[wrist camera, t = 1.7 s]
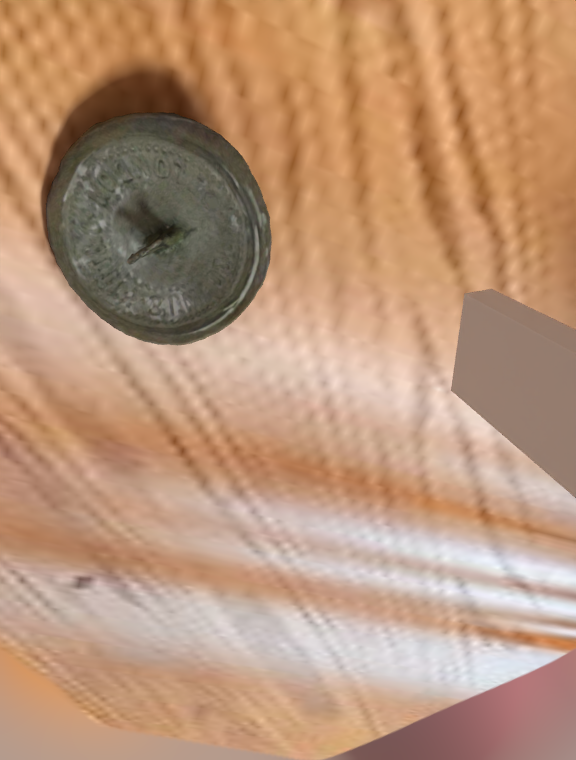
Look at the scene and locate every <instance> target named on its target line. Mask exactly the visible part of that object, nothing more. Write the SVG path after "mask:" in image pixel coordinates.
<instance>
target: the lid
mask: <svg viewBox="0 0 576 760" xmlns="http://www.w3.org/2000/svg"><path fill="white" fill-rule="evenodd" d="M46 215H47V229H48V237H49V242H50V245H51V248H52V250H53V252H54V254H55V257H56V262H57V264H58V265H59V267H60V268H61V270H62V272H63V274H64V276H65V278H66V280H67V281H68V283H69V286H70V287H71V288H72V289H73V290H74V291H75V292H76V293H77V294H78V295H79V296H80V298H81V299H82V300H83V301H84V303H85V304H86V305H87V306H88V307H89V308H90V309H91V310H92V311H93V312H95V313H96V314H97V315H98V316H99V317H100V318H101V319H103V320H104V321H106V322H107V323H109V324H110V325H111V326H113V327H114V328H116V329H117V330H119V331H122V332H123V333H125V334H126V335H129V336H132V337H135V338H137V339H139V340H142V341H145V342H151V343H155V344H162V345H165V344H170V345H185V344H190V343H193V342H196V341H199V340H203V339H205V338H207V337H209V336H211V335H213V334H216V333H218V332H219V331H221V330H222V329H224V328H225V327H227V326H228V325H230V324H231V323H232V322H233V321H234V320H236V319H237V318H238V317H239V316H240V315H241V313H242V312H243V311H244V310H245V309H246V308H247V307H248V306H249V304H250V303H251V301H252V300H253V299H254V297H255V296H256V293H257V292H258V290H259V289H260V288H261V286H262V285H263V282H264V280H265V277H266V273H267V270H268V266H269V263H270V251H271V230H270V217H269V213H268V211H267V207H266V204H265V202H264V200H263V196H262V193H261V190H260V188H259V186H258V184H257V182H256V180H255V178H254V176H253V175H252V173H251V171H250V169H249V166H248V165H247V163H246V162H245V160H244V158H243V157H242V156H241V155H240V153H239V152H238V151H237V150H236V149H235V148H234V147H233V146H232V145H231V144H230V143H229V142H228V141H227V140H225V139H224V138H223V137H222V135H220V134H218V133H216V132H215V131H213V130H211V129H210V128H208V127H207V126H205V125H203V124H201V123H199V122H197V121H195V120H193V119H189V118H186V117H182V116H180V115H178V114H175V113H133V114H129V115H124V116H118V117H114V118H111V119H109V120H107V121H105V122H100V123H97V124H95V125H93V126H92V127H91V128H90V129H89V130H87V131H86V132H85V133H84V134H83V135H82V136H81V137H80V138H79V139H78V140H77V141H76V142H75V143H74V144H73V145H72V146H71V147H70V148H69V150H68V151H67V153H66V154H65V156H64V157H63V159H62V161H61V163H60V168H59V172H58V173H57V175H56V177H55V179H54V180H53V182H52V186H51V189H50V192H49V194H48V198H47V203H46Z"/></svg>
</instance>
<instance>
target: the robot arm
mask: <svg viewBox="0 0 576 760" xmlns="http://www.w3.org/2000/svg"><path fill="white" fill-rule="evenodd" d="M451 391H452V392H454V393H455V394H456V395H457V396H458V397H459V398H461V399H462V400H463V401H464V402H465V403H466V404H467V405H469V406H470V407H471V408H472V409H473V410H474V411H476V412H477V413H478V414H479V415H480V416H481V417H483V418H484V419H485V420H486V421H487V422H488V423H490V424H491V425H492V426H493V427H494V428H495V429H496V430H498V431H499V432H500V433H501V434H502V435H503V436H505V437H506V438H507V439H508V440H509V441H510V442H512V443H513V444H514V445H515V446H516V447H517V448H519V449H520V450H521V451H522V452H523V453H524V454H526V455H527V456H528V457H529V458H530V459H531V460H532V461H534V462H535V463H536V464H537V465H538V466H539V467H541V468H542V469H543V470H544V471H545V472H546V473H548V474H549V475H550V476H551V477H552V478H553V479H555V480H556V481H557V482H558V483H559V484H560V485H561V486H563V487H564V488H565V489H566V490H567V491H568V492H570V493H571V494H572V495H573V496H574V497H575V498H576V330H575V329H573V328H571V327H569V326H567V325H565V324H563V323H561V322H559V321H557V320H555V319H553V318H551V317H548V316H546V315H544V314H542V313H540V312H538V311H536V310H534V309H532V308H530V307H528V306H526V305H524V304H522V303H520V302H518V301H516V300H514V299H511V298H509V297H507V296H505V295H503V294H501V293H499V292H497V291H495V290H493V289H489V290H483V291H477V292H471V293H465V295H464V302H463V309H462V316H461V323H460V330H459V337H458V345H457V352H456V359H455V366H454V373H453V380H452V387H451Z"/></svg>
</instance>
